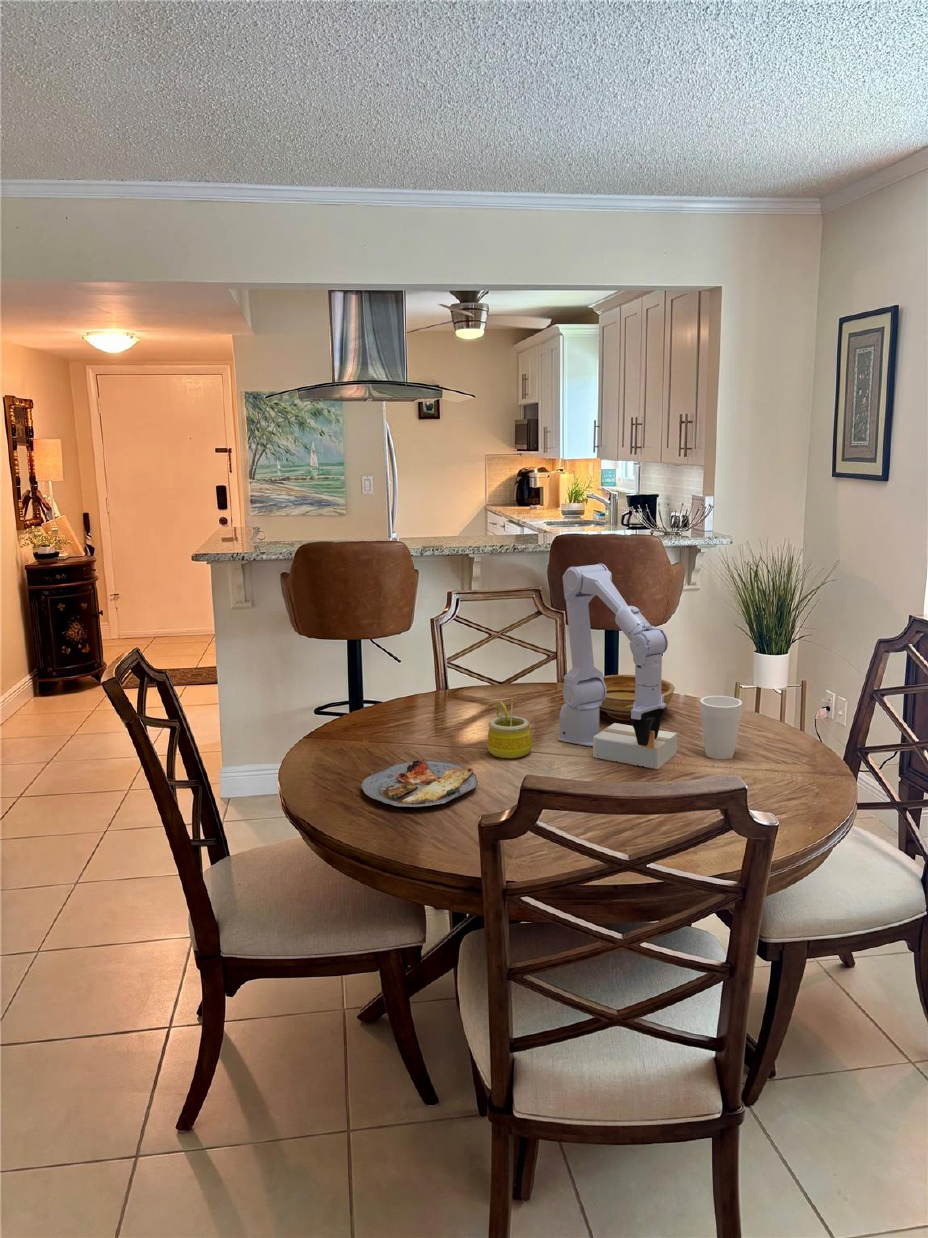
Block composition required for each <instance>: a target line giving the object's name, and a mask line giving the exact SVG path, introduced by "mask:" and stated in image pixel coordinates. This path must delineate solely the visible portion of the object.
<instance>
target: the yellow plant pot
mask: <svg viewBox="0 0 928 1238" xmlns="http://www.w3.org/2000/svg"><path fill="white" fill-rule="evenodd" d="M514 701H515V699H513V698H511V699H510V702H511V705H510V708H511V709H510V715H508V710H507V706H506V705H505V704H504V703H503V702H502V701H500V702H497V703H496V707H495V713H496V717H495V718H493V719H491V720H490V721H489V722H488V733H487V741H486V748H487V750H488V752H489V753H490V754H491V755H492V756H494V757H498V758H501V759H516V758H521V757H524V756H527V755H528V754H529V753H530V752H531V750H532V748H533V745H534V744H533V735H532V732H531V729H530V721H528V720H527V718H523V717H520V716H516V715H513V705H514V704H513V703H514ZM499 713H500V714H499Z"/></svg>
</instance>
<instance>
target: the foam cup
mask: <svg viewBox="0 0 928 1238" xmlns="http://www.w3.org/2000/svg"><path fill="white" fill-rule="evenodd" d="M699 711H700V717H701V726H702V727H701V729H702V734H703V743H704V744H703V745H704V751H705V753H704V754H705V756H706V757H709V758H711V759H715V760H730V759H732V758H733V757H734V754H735V748H736V744H737V738H738V734H739V733H738V732H739V725H740V721H741V715H742V713H743V701H742V700H741V699H739V698H737V697H731V696H727V695H708V696H704V697H701V698H700V699H699Z"/></svg>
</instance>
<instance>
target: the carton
mask: <svg viewBox="0 0 928 1238" xmlns="http://www.w3.org/2000/svg"><path fill="white" fill-rule="evenodd" d="M597 738H599V739H604V740H610V741H616V742H622V743H627V744H633V745H638V743H637V739H636V734H635V731H634V728H633V725H628V724H623V723H622V724H621V723H618V722H617V723H616V722H614V723H612V724H611V725H609V726H607V727H605V728H603V729H602V730H601V731H599V733H598V734H597V735H595V736H594V737H593V746H592V758H594V757H595V759H597V758H596V739H597ZM677 738H678V733H677V732H672V731H667V730H666V731H665V730H660V729H659V732H658V736H657V738H656V739H654V770H658V769H660V768H661V767H662V766H664V765H665V764H666V763H667V762H668V761H669V760H671V758H673V757H674V756H675V755H677V752H678V751H677V749H678V748H677V746H678V745H677V743H678V741H677V740H678V739H677ZM639 746H640V745H639ZM599 759H601V758H599ZM601 760H602V759H601ZM604 761H608V760H607V759H604ZM609 761H610V762H611V761H612V760H609ZM612 762H613V761H612ZM620 763H622V764H624V763H623V762H620ZM627 765H629V764H628V763H627ZM631 765H632V766H633V764H631Z"/></svg>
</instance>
